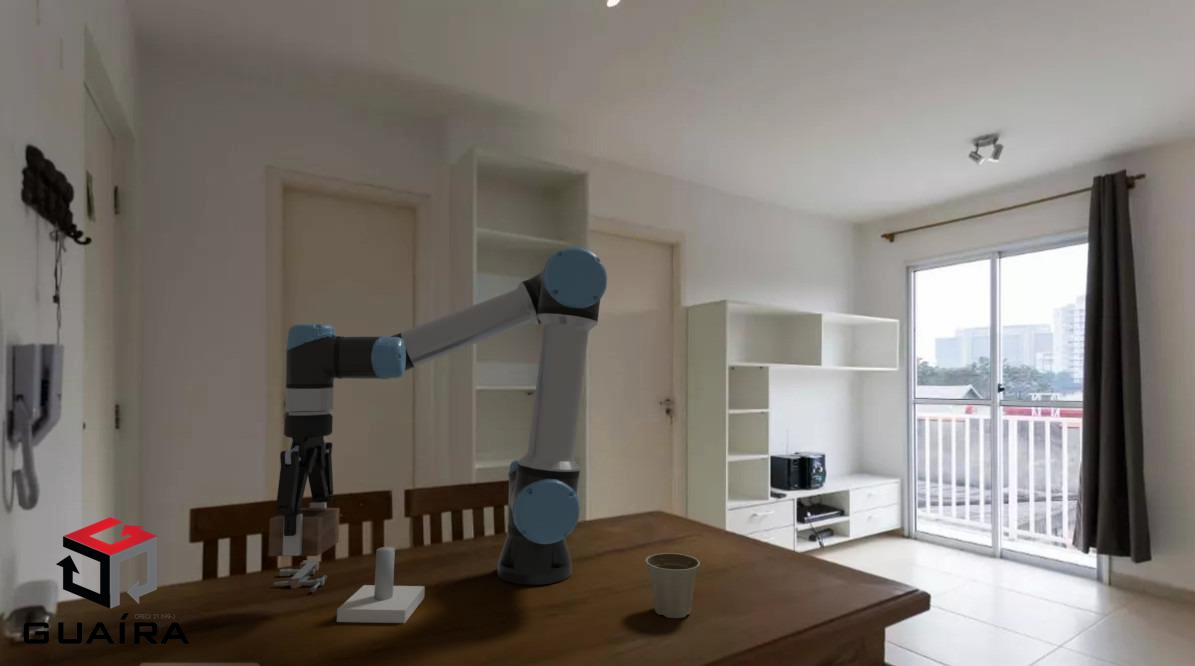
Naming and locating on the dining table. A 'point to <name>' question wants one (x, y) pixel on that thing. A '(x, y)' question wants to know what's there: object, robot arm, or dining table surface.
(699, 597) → the dining table surface
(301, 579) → the clamp
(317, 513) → the open brown box
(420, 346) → the robot arm
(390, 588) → the post block
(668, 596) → the flower pot
